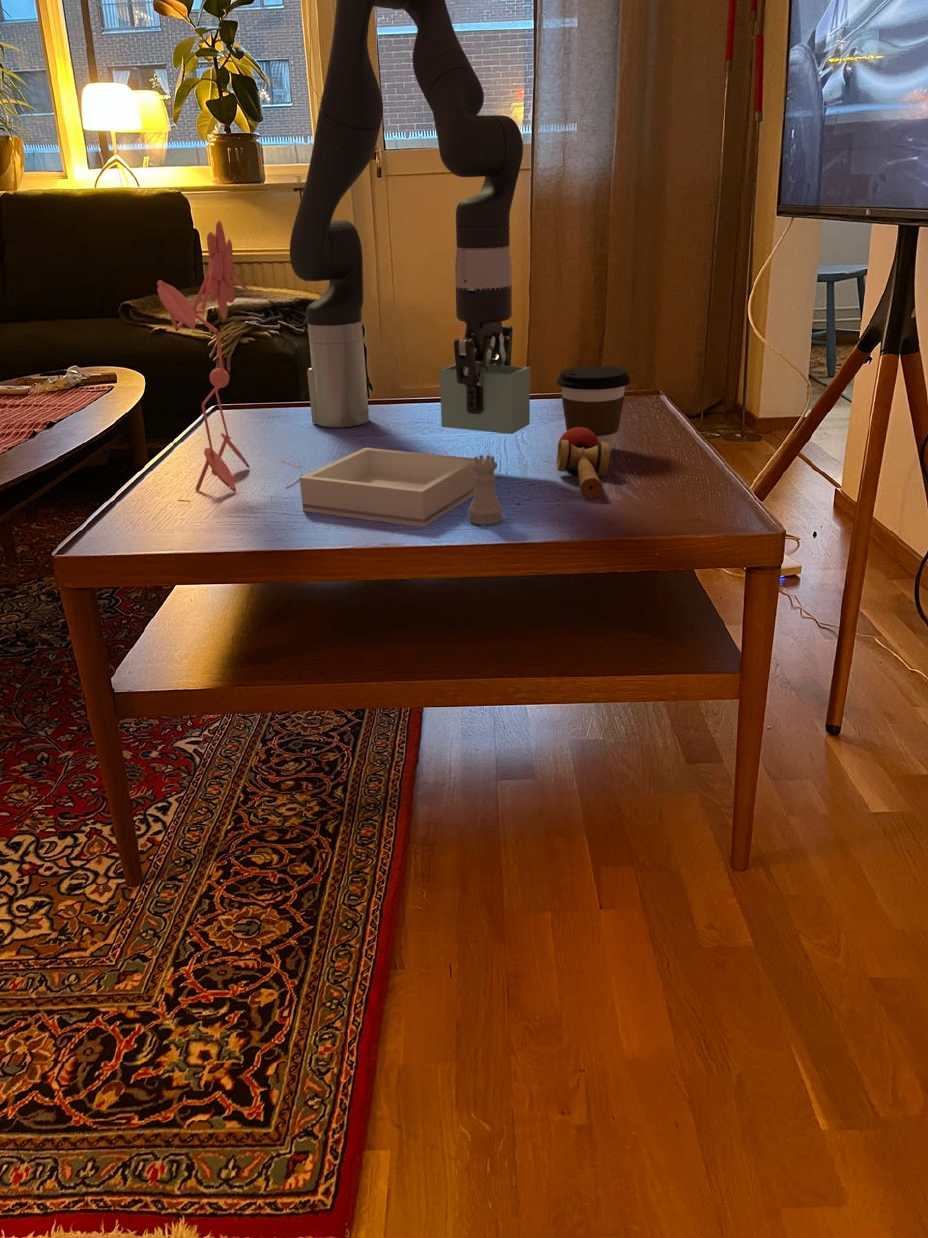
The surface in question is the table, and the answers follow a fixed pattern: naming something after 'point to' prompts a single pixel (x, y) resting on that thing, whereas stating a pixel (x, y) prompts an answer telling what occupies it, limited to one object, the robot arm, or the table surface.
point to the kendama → (584, 459)
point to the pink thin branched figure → (181, 309)
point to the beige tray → (389, 486)
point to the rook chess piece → (484, 493)
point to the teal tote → (488, 400)
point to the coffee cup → (594, 399)
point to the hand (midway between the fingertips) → (485, 407)
